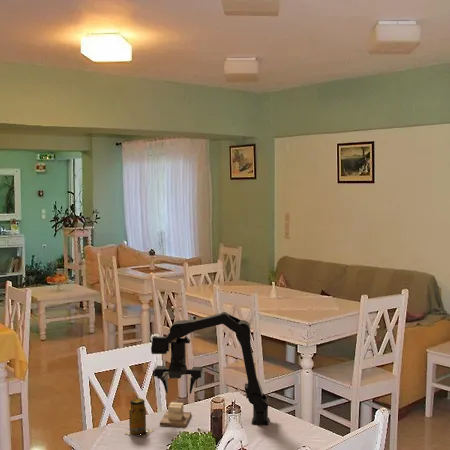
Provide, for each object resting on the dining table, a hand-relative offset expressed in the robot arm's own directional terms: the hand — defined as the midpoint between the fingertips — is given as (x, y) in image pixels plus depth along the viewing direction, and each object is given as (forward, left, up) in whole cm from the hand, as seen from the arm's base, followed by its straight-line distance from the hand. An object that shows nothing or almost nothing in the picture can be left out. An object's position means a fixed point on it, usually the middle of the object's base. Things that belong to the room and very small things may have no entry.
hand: (178, 393), depth 237 cm
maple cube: (0, -1, -10) cm, 10 cm away
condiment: (+13, -12, -11) cm, 21 cm away
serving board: (0, -1, -11) cm, 11 cm away
